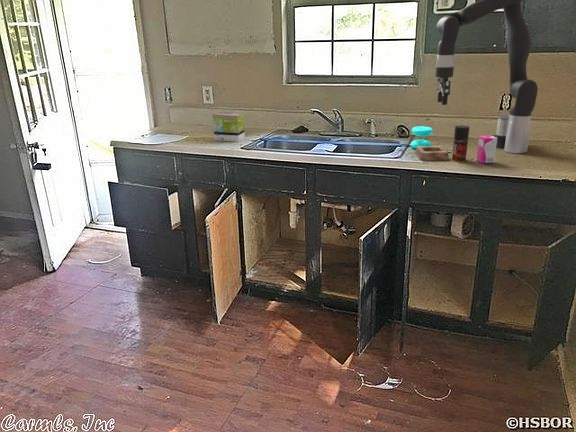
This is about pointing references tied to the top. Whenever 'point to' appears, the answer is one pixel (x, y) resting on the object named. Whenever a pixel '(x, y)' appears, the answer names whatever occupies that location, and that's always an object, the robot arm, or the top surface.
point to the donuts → (421, 132)
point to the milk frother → (501, 131)
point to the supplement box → (486, 149)
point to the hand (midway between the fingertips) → (442, 103)
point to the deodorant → (460, 143)
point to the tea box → (229, 126)
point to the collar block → (431, 153)
